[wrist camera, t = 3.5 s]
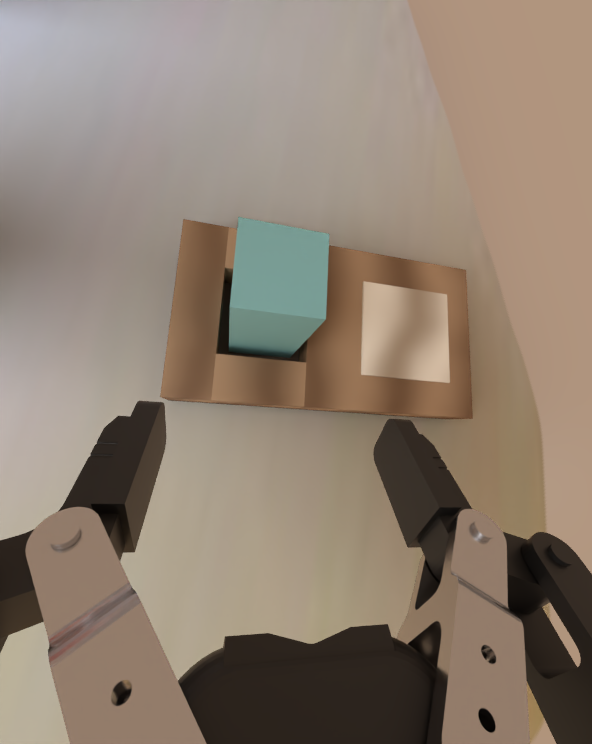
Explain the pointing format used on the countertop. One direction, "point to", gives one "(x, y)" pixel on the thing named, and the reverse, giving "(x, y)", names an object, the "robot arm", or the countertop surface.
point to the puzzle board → (326, 337)
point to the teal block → (276, 288)
